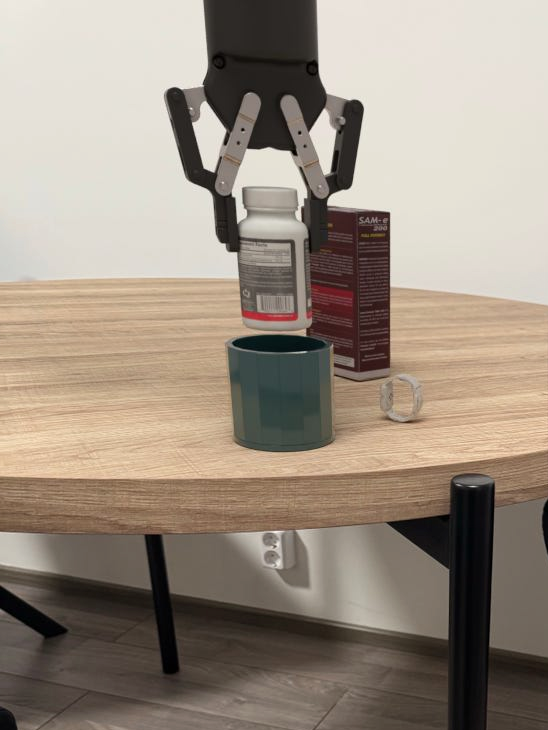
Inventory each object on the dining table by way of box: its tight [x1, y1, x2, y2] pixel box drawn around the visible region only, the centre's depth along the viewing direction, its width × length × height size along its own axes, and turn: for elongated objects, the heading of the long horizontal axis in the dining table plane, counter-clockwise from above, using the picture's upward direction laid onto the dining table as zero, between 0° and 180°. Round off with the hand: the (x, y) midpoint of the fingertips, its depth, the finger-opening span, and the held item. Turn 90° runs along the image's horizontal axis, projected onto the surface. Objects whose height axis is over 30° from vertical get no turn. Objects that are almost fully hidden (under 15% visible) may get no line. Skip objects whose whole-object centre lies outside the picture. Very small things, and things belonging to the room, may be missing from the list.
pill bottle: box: [236, 185, 312, 333], centre depth 71 cm, size 5×5×10 cm
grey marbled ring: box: [379, 373, 425, 423], centre depth 83 cm, size 4×2×4 cm, turn 73°
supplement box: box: [300, 204, 391, 382], centre depth 96 cm, size 9×5×16 cm, turn 48°
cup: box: [224, 333, 336, 452], centre depth 76 cm, size 8×8×8 cm
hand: (273, 250), depth 71 cm, fingers closed on pill bottle, 5 cm apart
